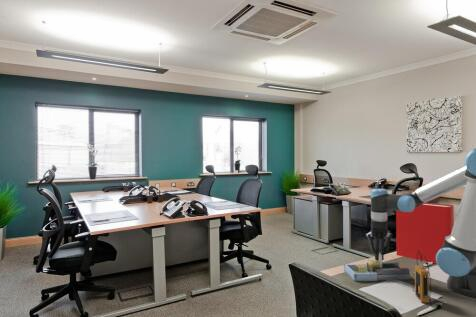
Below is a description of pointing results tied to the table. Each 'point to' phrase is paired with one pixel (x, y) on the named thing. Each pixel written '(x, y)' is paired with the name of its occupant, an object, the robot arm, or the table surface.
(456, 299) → the table surface
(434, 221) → the book
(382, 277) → the slotted deck
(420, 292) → the multimeter
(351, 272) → the tray
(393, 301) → the table surface
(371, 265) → the brass block
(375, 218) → the robot arm
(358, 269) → the brass block
